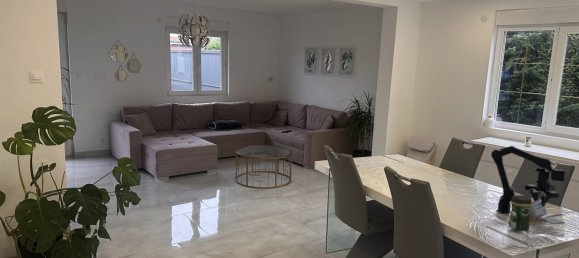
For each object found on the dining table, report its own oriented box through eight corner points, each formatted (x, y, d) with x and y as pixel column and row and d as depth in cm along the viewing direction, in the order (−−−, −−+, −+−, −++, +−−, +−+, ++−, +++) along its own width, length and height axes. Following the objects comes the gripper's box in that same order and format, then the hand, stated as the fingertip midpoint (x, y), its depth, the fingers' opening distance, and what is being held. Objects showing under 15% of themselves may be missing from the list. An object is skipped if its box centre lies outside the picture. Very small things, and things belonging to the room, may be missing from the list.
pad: (552, 224, 235) (552, 223, 235) (540, 219, 242) (540, 218, 242) (564, 222, 237) (564, 222, 237) (552, 218, 245) (552, 217, 245)
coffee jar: (520, 225, 230) (524, 193, 228) (531, 231, 223) (535, 197, 220) (505, 226, 229) (508, 193, 226) (515, 231, 221) (519, 197, 218)
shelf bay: (530, 221, 238) (530, 214, 237) (518, 216, 246) (519, 209, 245) (543, 220, 240) (544, 212, 240) (531, 215, 248) (531, 208, 248)
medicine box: (536, 219, 241) (533, 206, 239) (530, 216, 246) (527, 204, 244) (547, 213, 243) (544, 200, 241) (540, 211, 247) (537, 198, 245)
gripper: (568, 183, 235) (564, 209, 237) (540, 174, 252) (536, 199, 255) (552, 183, 232) (549, 210, 234) (525, 175, 249) (522, 200, 251)
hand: (539, 205), depth 243 cm, fingers closed on medicine box, 4 cm apart
